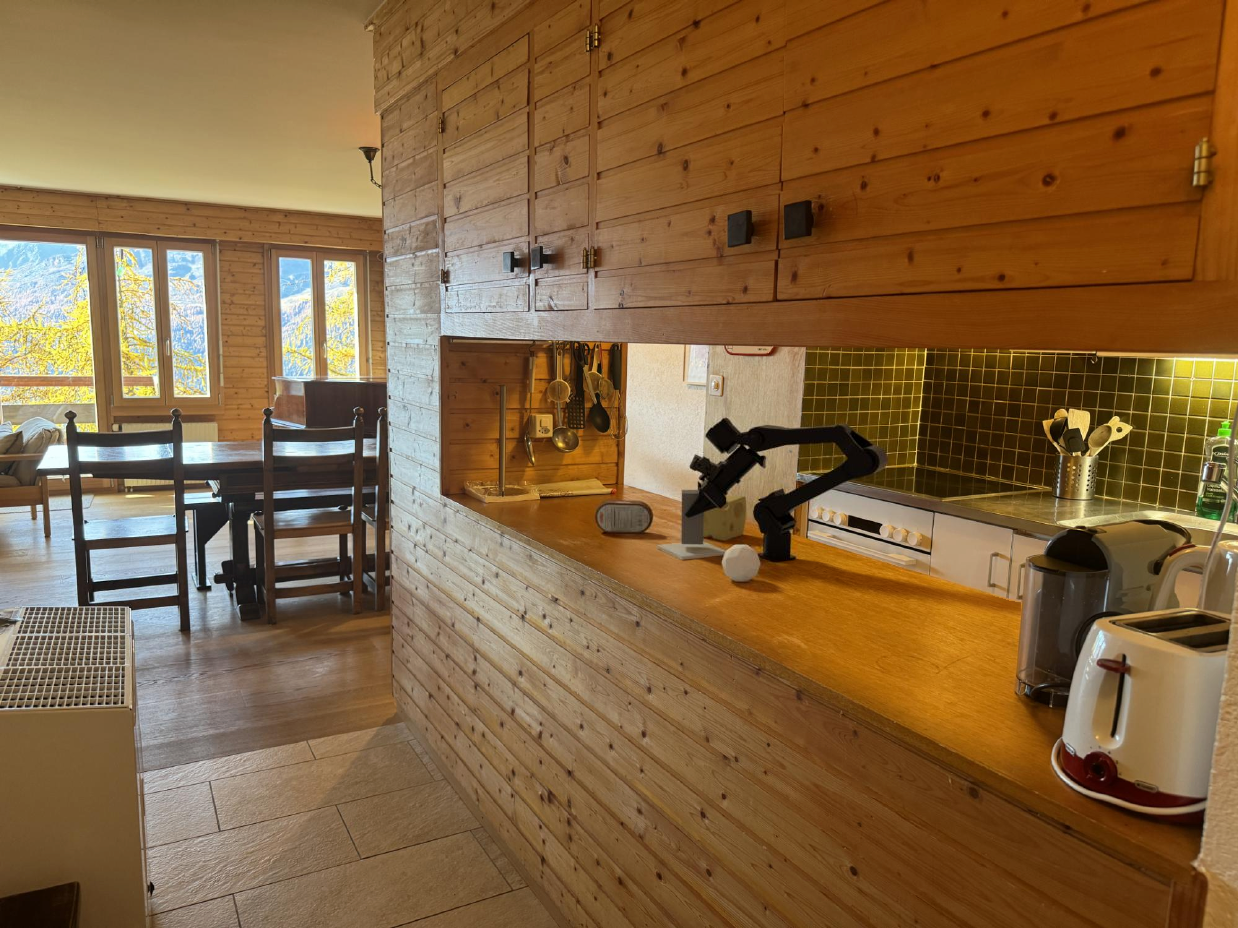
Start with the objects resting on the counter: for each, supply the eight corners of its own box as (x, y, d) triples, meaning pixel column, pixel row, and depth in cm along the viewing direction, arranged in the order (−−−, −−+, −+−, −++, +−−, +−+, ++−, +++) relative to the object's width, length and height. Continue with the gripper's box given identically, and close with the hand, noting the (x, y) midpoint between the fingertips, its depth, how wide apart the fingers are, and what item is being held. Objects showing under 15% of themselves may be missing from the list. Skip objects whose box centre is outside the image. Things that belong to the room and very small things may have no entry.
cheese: (725, 541, 216) (726, 502, 214) (689, 535, 222) (689, 497, 221) (746, 534, 224) (747, 496, 223) (710, 528, 230) (711, 491, 229)
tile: (726, 554, 202) (726, 551, 202) (681, 559, 197) (681, 556, 197) (700, 543, 213) (700, 540, 213) (657, 548, 208) (657, 545, 208)
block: (702, 539, 207) (702, 489, 206) (703, 544, 202) (703, 493, 201) (681, 539, 207) (681, 489, 206) (681, 544, 203) (681, 493, 201)
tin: (653, 532, 226) (653, 500, 225) (652, 534, 223) (652, 502, 222) (595, 530, 228) (595, 498, 226) (594, 533, 224) (594, 501, 223)
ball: (735, 595, 179) (716, 568, 176) (732, 572, 186) (714, 546, 183) (768, 580, 177) (750, 552, 174) (764, 557, 184) (746, 530, 181)
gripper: (708, 438, 211) (662, 483, 213) (712, 448, 192) (661, 496, 194) (740, 471, 211) (694, 515, 213) (747, 483, 193) (696, 531, 195)
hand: (686, 514), depth 204 cm, fingers closed on block, 5 cm apart
